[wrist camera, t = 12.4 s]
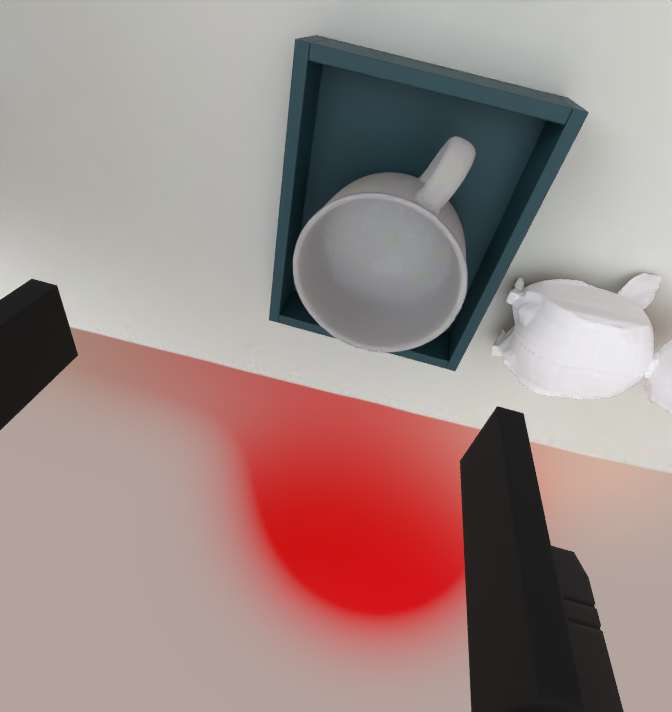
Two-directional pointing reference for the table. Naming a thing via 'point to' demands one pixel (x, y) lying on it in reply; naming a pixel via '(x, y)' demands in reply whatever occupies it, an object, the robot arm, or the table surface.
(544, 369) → the white figurine
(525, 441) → the robot arm
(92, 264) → the table surface
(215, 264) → the table surface
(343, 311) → the teacup
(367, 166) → the tray
